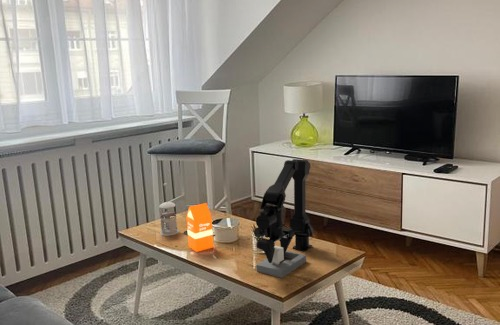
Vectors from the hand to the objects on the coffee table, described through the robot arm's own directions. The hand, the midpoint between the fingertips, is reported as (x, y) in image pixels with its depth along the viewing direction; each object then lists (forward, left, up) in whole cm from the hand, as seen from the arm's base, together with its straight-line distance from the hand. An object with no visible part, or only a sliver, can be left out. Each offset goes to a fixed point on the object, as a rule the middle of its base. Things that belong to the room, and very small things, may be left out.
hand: (276, 258), depth 204 cm
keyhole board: (-3, 0, -5) cm, 6 cm away
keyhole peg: (0, 0, -5) cm, 5 cm away
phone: (-14, -55, -5) cm, 57 cm away
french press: (-9, -71, -5) cm, 72 cm away
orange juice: (-2, -43, -5) cm, 43 cm away
